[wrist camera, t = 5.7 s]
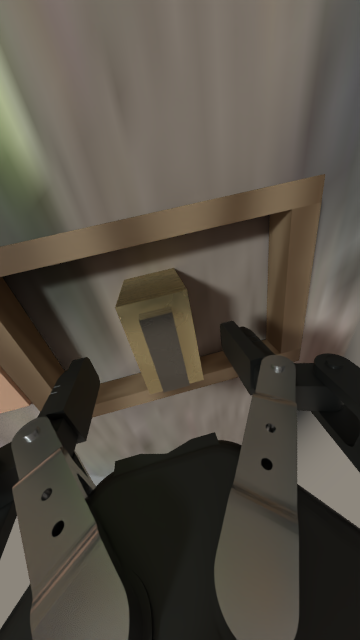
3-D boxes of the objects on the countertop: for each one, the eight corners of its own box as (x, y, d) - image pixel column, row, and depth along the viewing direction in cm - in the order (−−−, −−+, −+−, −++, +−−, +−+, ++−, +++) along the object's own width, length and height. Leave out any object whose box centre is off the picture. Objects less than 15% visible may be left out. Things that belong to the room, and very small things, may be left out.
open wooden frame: (296, 181, 14) (325, 174, 12) (282, 345, 21) (299, 360, 19) (-47, 258, 13) (-87, 266, 10) (64, 404, 20) (54, 427, 18)
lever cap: (173, 267, 15) (189, 295, 10) (188, 338, 19) (207, 388, 13) (124, 279, 15) (113, 314, 10) (148, 349, 19) (150, 403, 13)
